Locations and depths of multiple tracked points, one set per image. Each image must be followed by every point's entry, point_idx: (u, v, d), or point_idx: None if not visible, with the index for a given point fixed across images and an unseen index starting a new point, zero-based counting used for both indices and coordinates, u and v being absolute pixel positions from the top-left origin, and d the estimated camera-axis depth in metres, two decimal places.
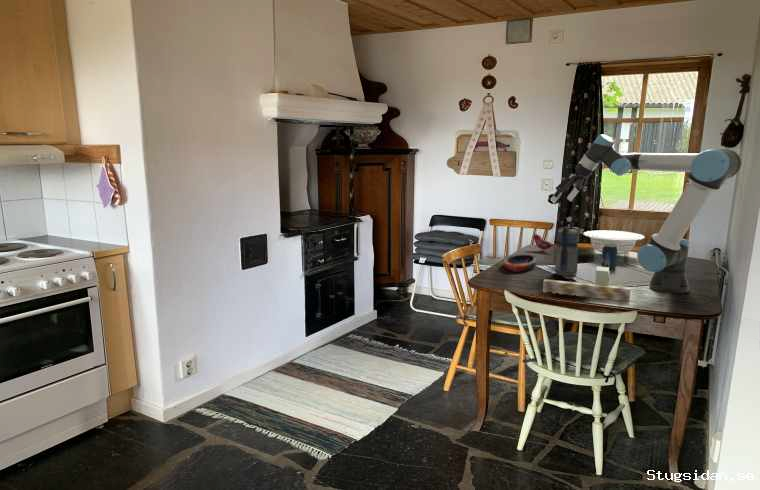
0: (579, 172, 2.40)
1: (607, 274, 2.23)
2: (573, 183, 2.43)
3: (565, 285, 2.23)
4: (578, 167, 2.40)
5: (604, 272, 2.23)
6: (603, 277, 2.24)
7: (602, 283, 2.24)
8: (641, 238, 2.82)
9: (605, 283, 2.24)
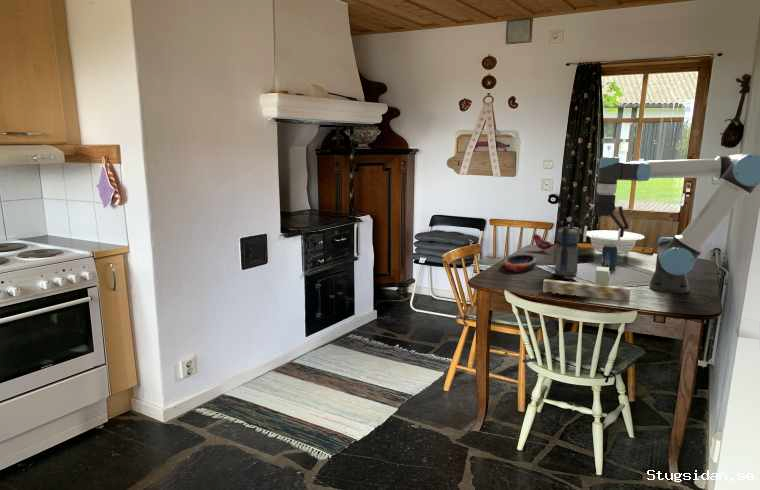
0: (614, 201, 2.21)
1: (607, 274, 2.23)
2: (613, 214, 2.23)
3: (565, 285, 2.23)
4: (614, 198, 2.20)
5: (604, 272, 2.23)
6: (603, 277, 2.24)
7: (602, 283, 2.24)
8: (641, 238, 2.82)
9: (605, 283, 2.24)
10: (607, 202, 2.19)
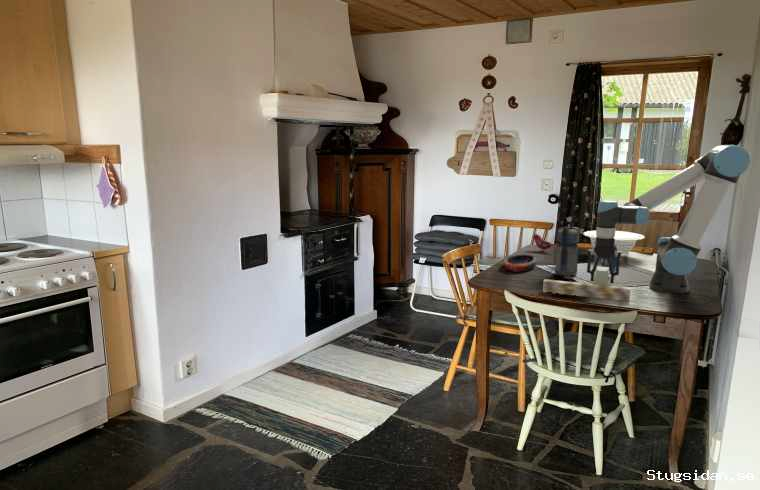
0: None
1: (607, 274, 2.23)
2: None
3: (565, 285, 2.23)
4: (614, 242, 2.22)
5: (604, 272, 2.23)
6: (603, 277, 2.24)
7: (602, 283, 2.24)
8: (641, 238, 2.82)
9: (605, 283, 2.24)
10: (607, 246, 2.21)
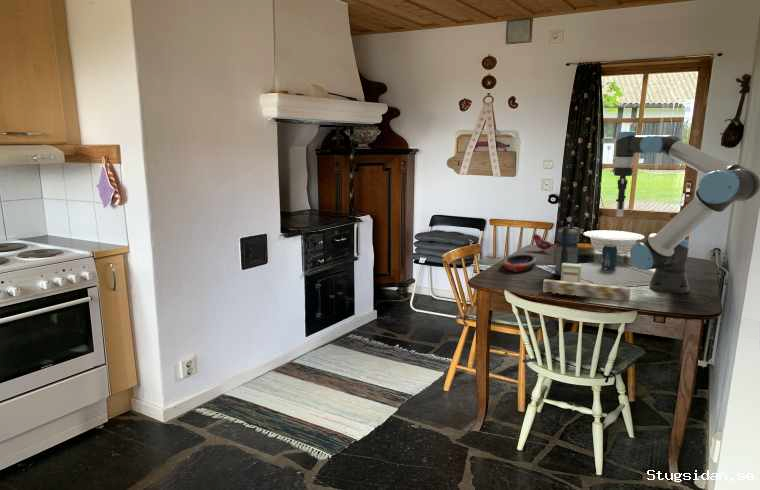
0: (625, 174, 2.29)
1: None
2: None
3: (565, 285, 2.23)
4: (620, 171, 2.29)
5: (562, 265, 2.36)
6: None
7: None
8: (641, 238, 2.82)
9: (561, 276, 2.36)
10: (614, 174, 2.33)
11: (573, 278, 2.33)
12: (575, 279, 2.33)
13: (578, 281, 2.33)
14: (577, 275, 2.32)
